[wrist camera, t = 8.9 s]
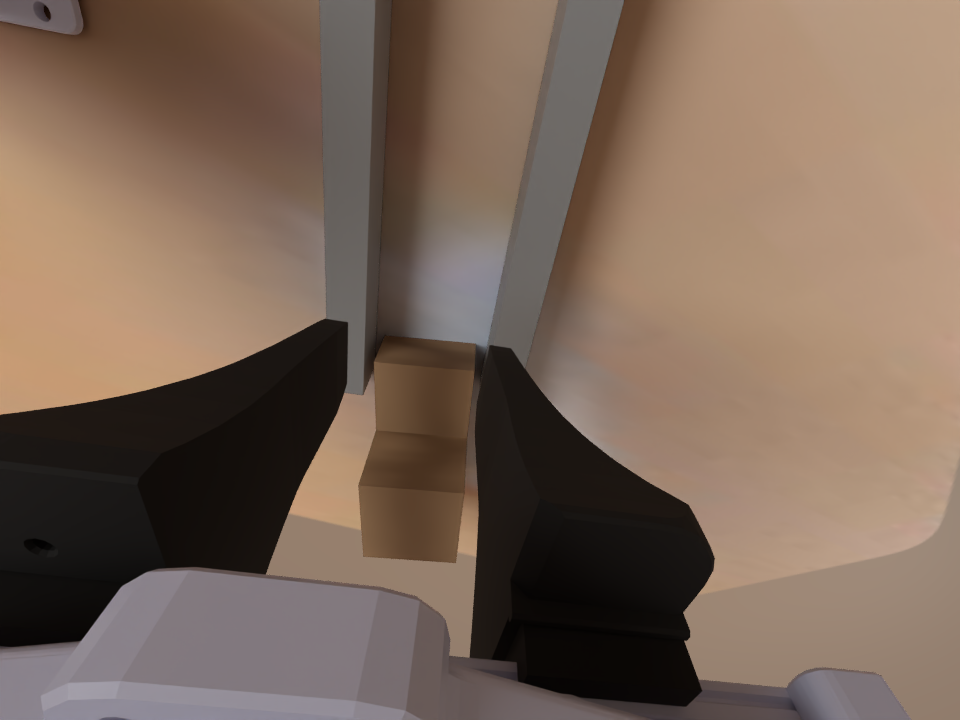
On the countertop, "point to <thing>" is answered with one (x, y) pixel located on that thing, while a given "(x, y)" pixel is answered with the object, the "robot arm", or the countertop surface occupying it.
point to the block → (417, 450)
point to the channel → (361, 152)
